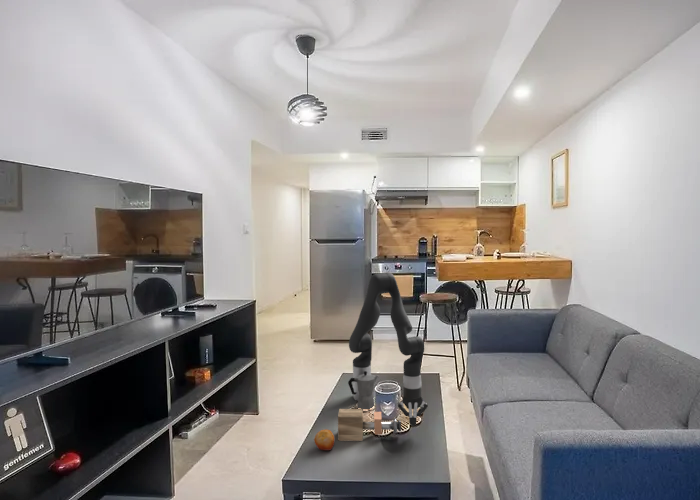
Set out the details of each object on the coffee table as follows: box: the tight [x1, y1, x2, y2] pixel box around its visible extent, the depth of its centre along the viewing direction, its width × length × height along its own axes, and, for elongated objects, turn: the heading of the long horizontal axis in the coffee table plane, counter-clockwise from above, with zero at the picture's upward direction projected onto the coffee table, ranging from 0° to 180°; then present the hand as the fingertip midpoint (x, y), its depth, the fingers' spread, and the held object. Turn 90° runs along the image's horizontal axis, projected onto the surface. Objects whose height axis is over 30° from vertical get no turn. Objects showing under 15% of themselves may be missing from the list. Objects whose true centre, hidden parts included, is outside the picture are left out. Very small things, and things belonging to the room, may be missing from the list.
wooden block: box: [337, 408, 364, 442], centre depth 183 cm, size 8×10×10 cm
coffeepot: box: [347, 371, 379, 409], centre depth 210 cm, size 15×9×18 cm, turn 107°
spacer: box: [373, 411, 383, 435], centre depth 182 cm, size 7×3×6 cm, turn 177°
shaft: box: [362, 418, 402, 434], centre depth 182 cm, size 6×18×6 cm, turn 87°
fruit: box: [313, 428, 335, 451], centre depth 174 cm, size 8×8×8 cm
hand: (412, 425), depth 181 cm, fingers closed
